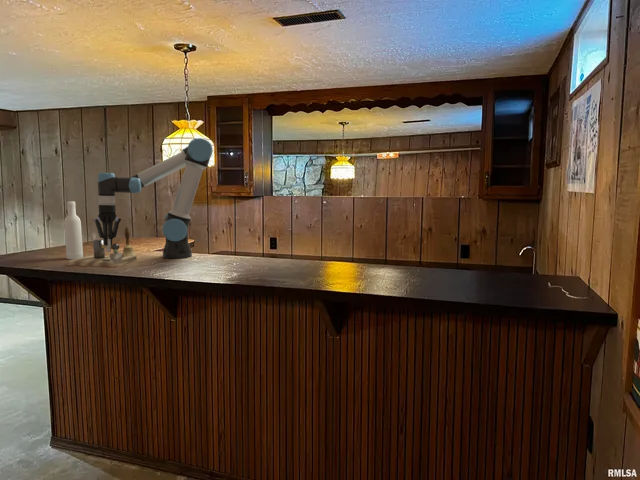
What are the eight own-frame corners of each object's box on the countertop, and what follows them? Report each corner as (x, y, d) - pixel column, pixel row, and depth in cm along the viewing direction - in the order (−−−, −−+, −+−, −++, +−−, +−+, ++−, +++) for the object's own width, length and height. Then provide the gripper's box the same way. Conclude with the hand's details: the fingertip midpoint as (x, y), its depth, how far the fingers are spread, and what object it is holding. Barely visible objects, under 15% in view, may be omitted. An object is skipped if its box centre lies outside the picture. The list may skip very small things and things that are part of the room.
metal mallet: (91, 258, 228) (90, 240, 227) (99, 256, 233) (98, 239, 232) (115, 259, 223) (114, 241, 222) (122, 258, 228) (121, 240, 227)
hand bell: (116, 257, 243) (115, 227, 241) (127, 254, 251) (126, 226, 249) (129, 258, 241) (128, 228, 239) (140, 255, 249) (138, 226, 247)
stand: (136, 260, 235) (135, 244, 234) (117, 266, 217) (116, 250, 216) (89, 258, 238) (88, 243, 237) (67, 265, 220) (65, 249, 219)
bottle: (67, 257, 242) (63, 201, 238) (83, 256, 245) (80, 201, 241) (65, 259, 235) (61, 202, 231) (83, 258, 238) (79, 201, 234)
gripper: (116, 203, 229) (117, 249, 232) (90, 204, 220) (91, 252, 223) (123, 204, 224) (124, 251, 227) (96, 205, 215) (98, 254, 218)
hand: (108, 251), depth 225 cm, fingers closed
